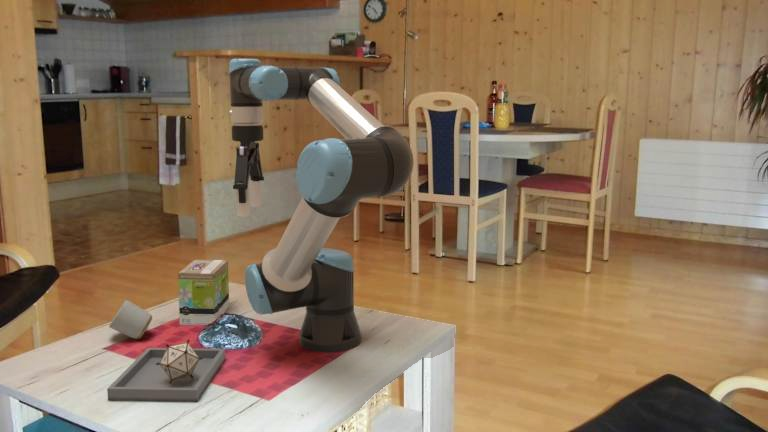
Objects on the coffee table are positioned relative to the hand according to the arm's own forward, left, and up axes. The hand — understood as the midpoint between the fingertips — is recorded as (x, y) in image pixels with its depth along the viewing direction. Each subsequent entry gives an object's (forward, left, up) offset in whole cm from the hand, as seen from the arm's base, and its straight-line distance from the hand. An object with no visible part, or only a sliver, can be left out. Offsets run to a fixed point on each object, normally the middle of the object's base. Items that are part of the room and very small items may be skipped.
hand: (250, 211), depth 170 cm
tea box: (+16, -12, -32) cm, 38 cm away
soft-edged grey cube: (+30, +3, -32) cm, 44 cm away
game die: (+12, +28, -30) cm, 43 cm away
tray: (+12, +28, -32) cm, 44 cm away
